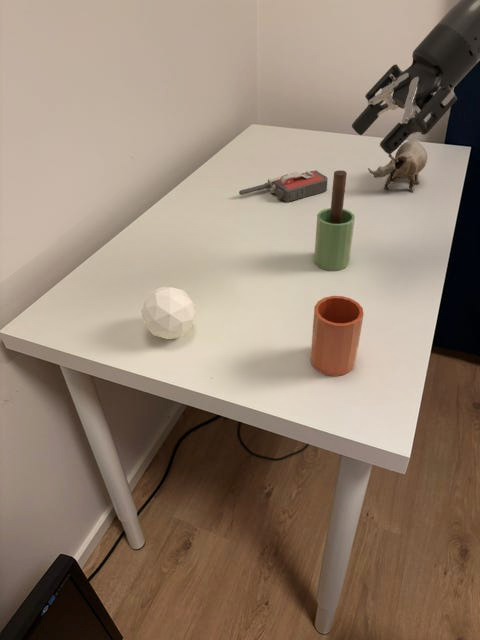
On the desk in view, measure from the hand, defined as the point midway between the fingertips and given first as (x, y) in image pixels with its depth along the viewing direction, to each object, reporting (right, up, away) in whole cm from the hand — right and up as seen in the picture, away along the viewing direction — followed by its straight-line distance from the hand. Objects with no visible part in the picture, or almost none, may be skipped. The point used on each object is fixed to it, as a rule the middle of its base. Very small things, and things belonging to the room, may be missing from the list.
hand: (369, 140), depth 70 cm
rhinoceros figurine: (+18, +4, +40) cm, 44 cm away
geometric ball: (-29, -28, +4) cm, 41 cm away
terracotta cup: (-6, -32, -2) cm, 32 cm away
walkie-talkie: (-8, +2, +40) cm, 41 cm away
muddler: (-2, -15, +17) cm, 23 cm away
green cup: (-2, -15, +17) cm, 23 cm away
